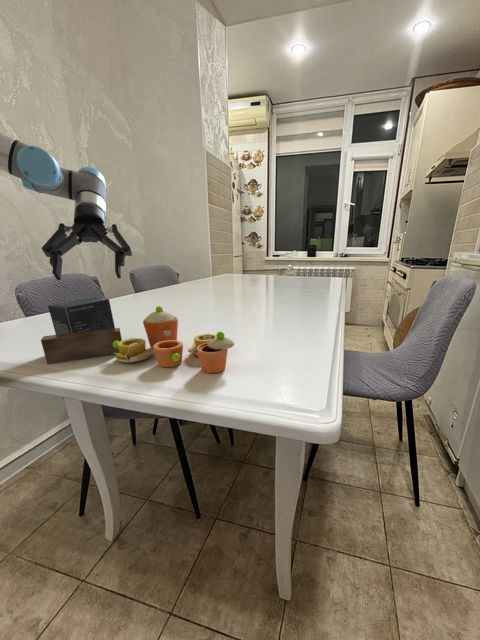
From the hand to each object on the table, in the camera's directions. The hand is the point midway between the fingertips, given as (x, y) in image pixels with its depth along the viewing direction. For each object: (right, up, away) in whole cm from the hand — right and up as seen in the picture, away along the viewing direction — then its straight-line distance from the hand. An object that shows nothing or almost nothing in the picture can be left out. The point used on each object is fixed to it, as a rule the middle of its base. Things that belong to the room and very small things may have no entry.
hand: (88, 275), depth 72 cm
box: (+3, -18, -4) cm, 18 cm away
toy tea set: (+26, -20, -10) cm, 34 cm away
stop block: (+6, -20, -10) cm, 23 cm away
